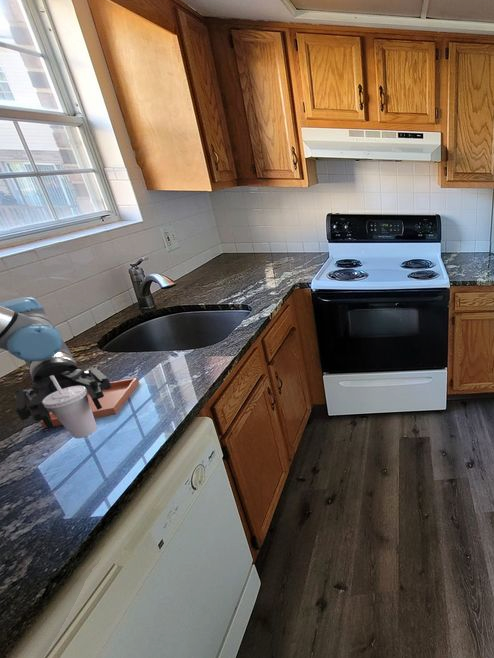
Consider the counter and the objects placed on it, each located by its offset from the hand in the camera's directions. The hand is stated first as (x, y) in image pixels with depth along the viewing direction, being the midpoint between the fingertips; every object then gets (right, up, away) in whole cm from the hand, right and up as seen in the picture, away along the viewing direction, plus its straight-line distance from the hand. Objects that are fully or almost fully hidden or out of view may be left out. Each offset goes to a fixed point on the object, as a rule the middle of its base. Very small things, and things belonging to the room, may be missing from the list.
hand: (73, 412), depth 70 cm
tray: (-25, -5, +30) cm, 40 cm away
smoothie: (-4, -6, +6) cm, 9 cm away
